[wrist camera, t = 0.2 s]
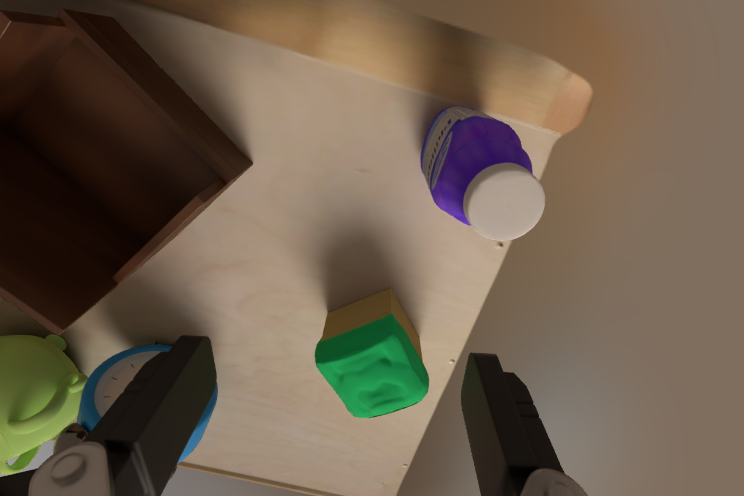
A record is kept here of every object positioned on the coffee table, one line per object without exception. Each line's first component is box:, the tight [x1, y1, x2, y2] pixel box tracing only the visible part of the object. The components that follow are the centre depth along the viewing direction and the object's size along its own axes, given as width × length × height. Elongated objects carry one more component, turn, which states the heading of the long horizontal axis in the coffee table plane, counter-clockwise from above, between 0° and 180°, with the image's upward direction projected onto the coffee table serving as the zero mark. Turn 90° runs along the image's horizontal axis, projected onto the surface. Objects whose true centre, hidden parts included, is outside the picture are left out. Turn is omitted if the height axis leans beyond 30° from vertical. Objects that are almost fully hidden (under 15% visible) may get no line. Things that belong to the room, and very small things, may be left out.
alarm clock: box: [53, 342, 218, 481], centre depth 42 cm, size 13×6×15 cm, turn 64°
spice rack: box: [0, 9, 253, 335], centre depth 29 cm, size 13×16×16 cm
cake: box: [315, 288, 429, 418], centre depth 41 cm, size 10×11×10 cm
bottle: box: [421, 106, 545, 241], centre depth 28 cm, size 7×6×17 cm
